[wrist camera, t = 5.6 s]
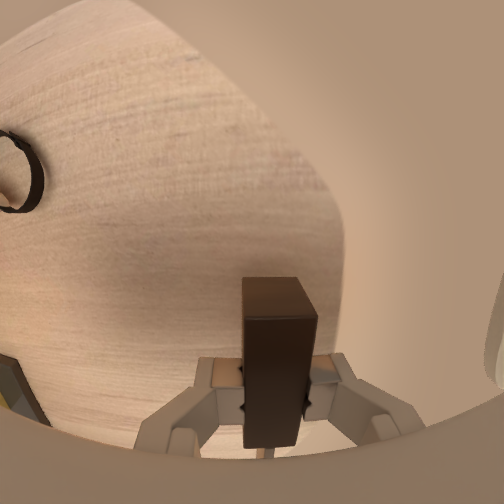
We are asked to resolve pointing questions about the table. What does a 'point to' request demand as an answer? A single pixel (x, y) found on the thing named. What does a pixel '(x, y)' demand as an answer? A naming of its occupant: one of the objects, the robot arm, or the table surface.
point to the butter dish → (18, 391)
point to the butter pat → (3, 402)
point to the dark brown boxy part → (275, 360)
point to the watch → (36, 178)
